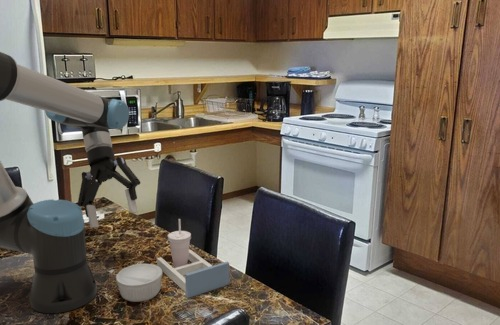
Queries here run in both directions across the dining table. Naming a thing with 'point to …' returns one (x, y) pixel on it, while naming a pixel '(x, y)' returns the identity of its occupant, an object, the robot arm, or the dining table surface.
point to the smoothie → (179, 246)
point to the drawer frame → (197, 275)
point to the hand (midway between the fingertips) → (114, 220)
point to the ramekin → (139, 282)
